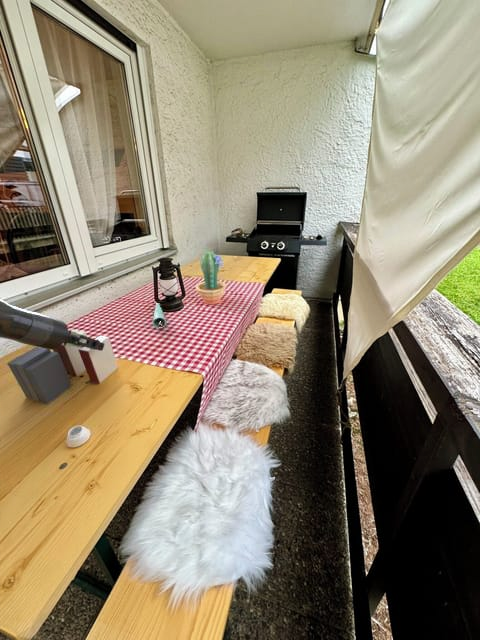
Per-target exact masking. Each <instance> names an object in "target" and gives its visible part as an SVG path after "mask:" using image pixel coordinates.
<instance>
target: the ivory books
mask: <svg viewBox="0 0 480 640" xmlns="http://www.w3.org/2000/svg"><path fill="white" fill-rule="evenodd" d="M70 331H73V332H76V333H77V334H81V335H85V336H87V337H88V338H89V336H88V334H87V331H84V330H78V329H71V330H70ZM78 337H80V336H78ZM79 349H80V348H78V347H74V346H66V345H63V344H62V345H61V346H59V347H58V348H56V349H52V352H56V353H59V355H60V358H61V360H62V362H63V365H64V367H65V369H66V372H67V374H68V376H71V377H74V378H77V377H79V376H80V375H81V374H83V373H84V372H85V371H86V369H85V366H84V363H83V361H82V358H81V356H80V353H79Z"/></svg>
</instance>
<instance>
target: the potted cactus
mask: <svg viewBox="0 0 480 640" xmlns="http://www.w3.org/2000/svg"><path fill="white" fill-rule="evenodd" d="M199 263H200V269H201V271H202V274H203V279H204V281H203V282H200V283H198V284H196V286H195V290H196V292H197V293H198V294H199V296H200V298H201V299H202V300H203V301H202V302H203V303H204V304H206V305H217V304H220V303H221V301H222V297H223V296H224V293H225V291H226V288H227V284H226V283H225V282H223V281H218V275H219V272H220V269H221V268H222V267H223V265H224V264H223V263H224V262H223V258H222V257H221V256H220V255H218V254H217V253H214V251H209V250H207V251H204V253H203V254H202V256H201V257H200V260H199Z"/></svg>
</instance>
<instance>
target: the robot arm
mask: <svg viewBox="0 0 480 640" xmlns="http://www.w3.org/2000/svg"><path fill="white" fill-rule="evenodd" d="M78 336H80V337H78ZM87 336H88V335H87ZM87 336H85V335H81V334H77V333H76V332H73V331H71V330H69V329H68V324H66V322H65V321H62V320H60V319H58V318H54V317H51V316H48V315H45V314H43V313H39V312H36V311H32V310H27V309H24V308H21V307H18V306H15V305H12V304H10V303H8V302H6V301H5V300H4V299H2V298H0V338H1V339H6V340H10V341H14V342H17V343H19V344H23V345H28V346H32V347H40V348H46V349H50V350H53V349H56V348H58V347H59V346H61V345H62V344H63V345H66V346H74V347H78V348H84V347H87V348H90V349H94V350H95V349H96V350H100V351H102V350H103V348H104V343H101V342H100V341H98V340H95V339H96V338H93V337H89V336H88V337H87Z"/></svg>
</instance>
